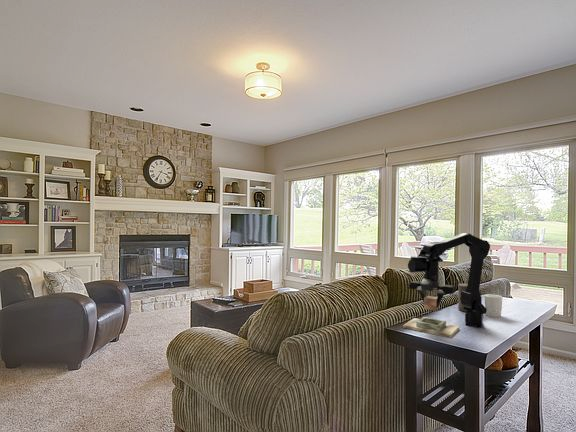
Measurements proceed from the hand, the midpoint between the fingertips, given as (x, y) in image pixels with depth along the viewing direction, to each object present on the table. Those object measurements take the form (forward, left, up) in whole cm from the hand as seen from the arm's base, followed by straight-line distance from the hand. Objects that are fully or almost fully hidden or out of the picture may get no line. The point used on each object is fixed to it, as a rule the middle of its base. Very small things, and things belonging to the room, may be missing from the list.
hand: (431, 306), depth 158 cm
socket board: (0, 0, -10) cm, 10 cm away
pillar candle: (-6, -44, -10) cm, 45 cm away
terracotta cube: (0, 0, -1) cm, 1 cm away
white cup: (-18, -42, -10) cm, 47 cm away
